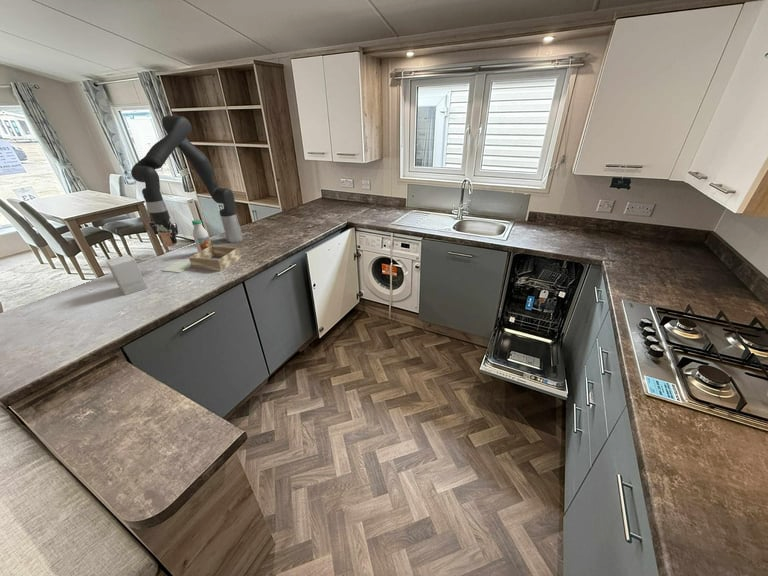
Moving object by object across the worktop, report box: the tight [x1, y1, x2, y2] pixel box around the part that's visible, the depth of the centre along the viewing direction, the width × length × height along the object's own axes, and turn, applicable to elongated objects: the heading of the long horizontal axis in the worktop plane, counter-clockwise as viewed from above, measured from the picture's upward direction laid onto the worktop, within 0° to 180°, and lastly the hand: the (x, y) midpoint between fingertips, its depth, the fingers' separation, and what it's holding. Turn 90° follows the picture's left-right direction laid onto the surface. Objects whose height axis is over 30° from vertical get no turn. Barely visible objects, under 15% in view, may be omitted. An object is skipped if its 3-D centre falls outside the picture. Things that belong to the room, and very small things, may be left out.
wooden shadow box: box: [188, 245, 242, 272], centre depth 165 cm, size 18×18×6 cm
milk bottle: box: [191, 219, 213, 253], centre depth 172 cm, size 8×8×20 cm
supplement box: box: [105, 254, 148, 296], centre depth 136 cm, size 9×9×15 cm
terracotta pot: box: [158, 225, 178, 247], centre depth 151 cm, size 6×6×11 cm
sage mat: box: [161, 261, 192, 274], centre depth 160 cm, size 11×11×1 cm
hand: (169, 242), depth 153 cm, fingers closed on terracotta pot, 5 cm apart
